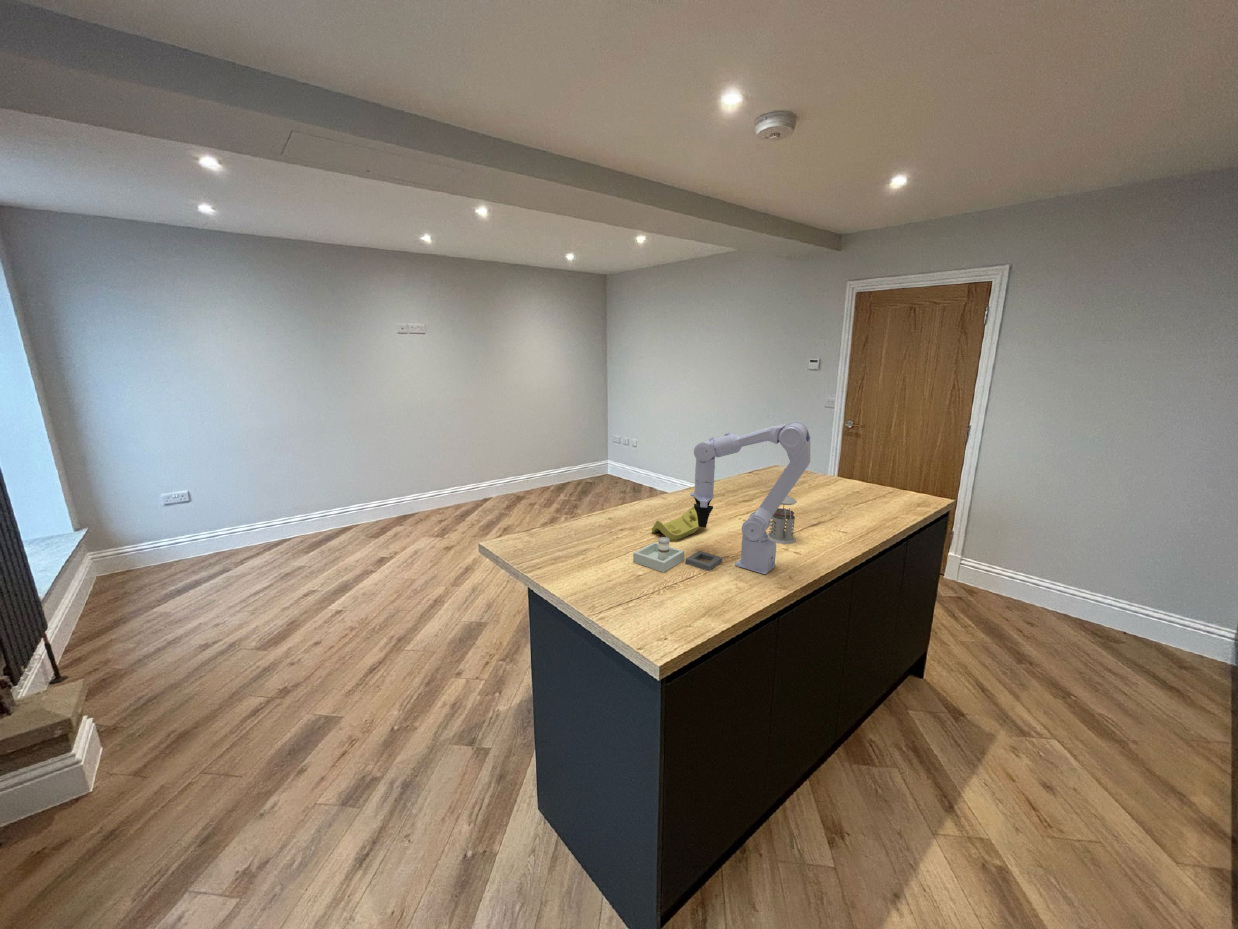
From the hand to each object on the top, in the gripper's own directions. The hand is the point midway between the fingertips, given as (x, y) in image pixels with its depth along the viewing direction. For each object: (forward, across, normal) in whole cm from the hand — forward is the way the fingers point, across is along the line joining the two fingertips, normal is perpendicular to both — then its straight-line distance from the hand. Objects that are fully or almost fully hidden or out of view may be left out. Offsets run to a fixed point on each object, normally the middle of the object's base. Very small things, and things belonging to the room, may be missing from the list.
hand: (702, 522), depth 142 cm
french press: (+11, -18, +28) cm, 34 cm away
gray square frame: (+10, +6, +1) cm, 12 cm away
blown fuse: (+10, +7, -11) cm, 17 cm away
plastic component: (+11, -18, -6) cm, 22 cm away
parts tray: (+10, +8, -13) cm, 18 cm away
